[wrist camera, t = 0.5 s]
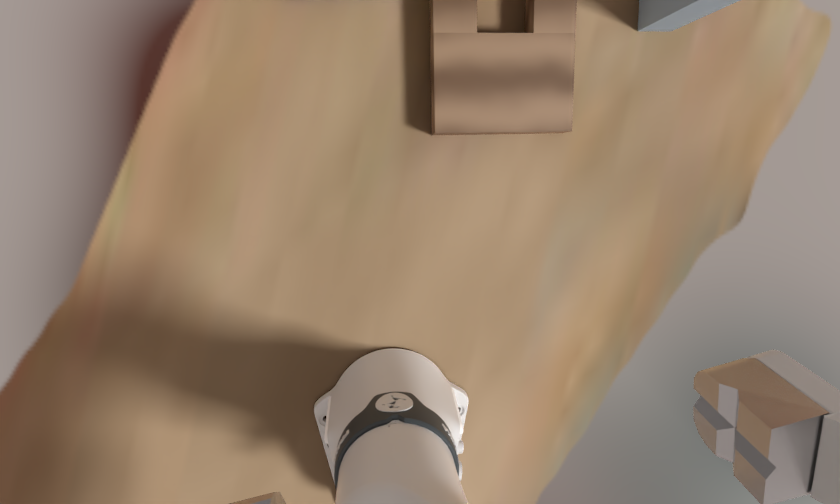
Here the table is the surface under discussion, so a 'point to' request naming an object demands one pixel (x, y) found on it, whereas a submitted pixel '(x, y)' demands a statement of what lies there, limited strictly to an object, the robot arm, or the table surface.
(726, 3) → the square peg
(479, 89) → the wooden square hole board
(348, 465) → the robot arm
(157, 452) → the table surface
